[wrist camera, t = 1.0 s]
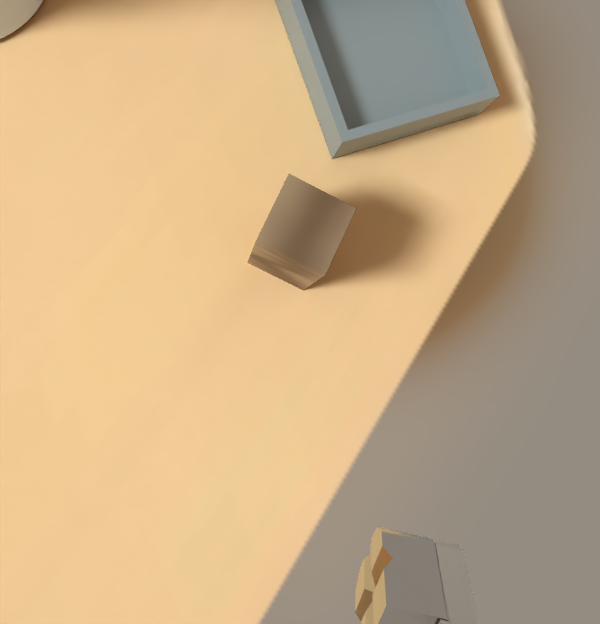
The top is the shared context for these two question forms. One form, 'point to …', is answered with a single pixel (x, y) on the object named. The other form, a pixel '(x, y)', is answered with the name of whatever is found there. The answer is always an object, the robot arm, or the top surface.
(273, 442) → the top surface
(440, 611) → the robot arm
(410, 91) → the tray
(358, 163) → the top surface
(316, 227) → the walnut block
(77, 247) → the top surface
